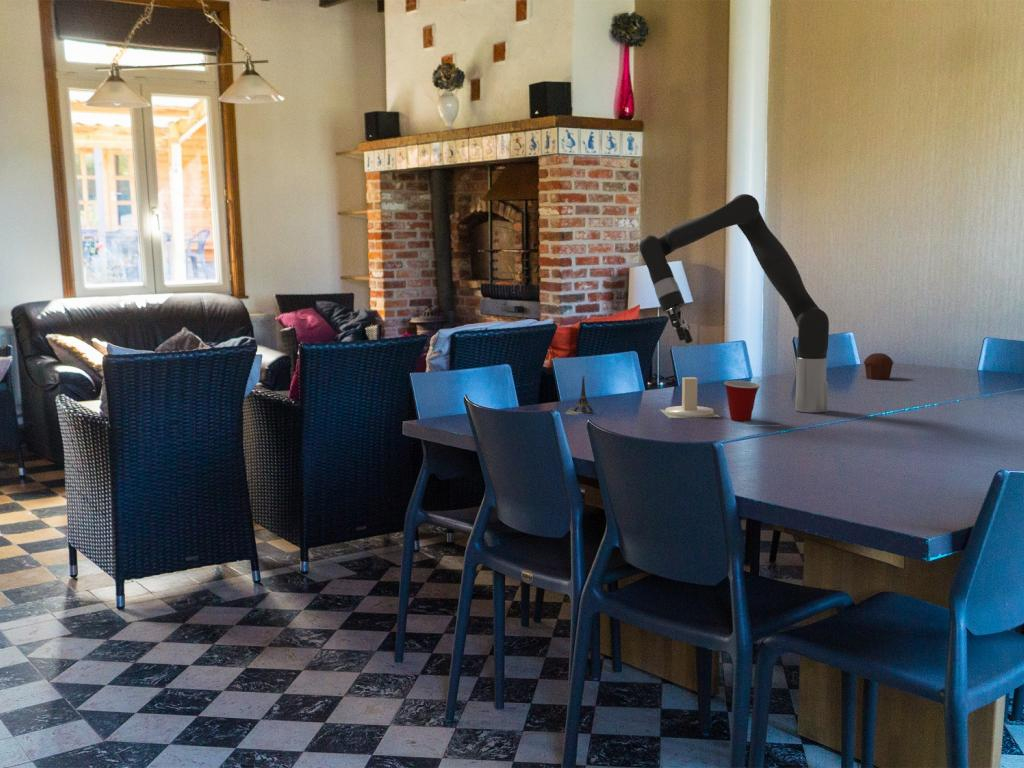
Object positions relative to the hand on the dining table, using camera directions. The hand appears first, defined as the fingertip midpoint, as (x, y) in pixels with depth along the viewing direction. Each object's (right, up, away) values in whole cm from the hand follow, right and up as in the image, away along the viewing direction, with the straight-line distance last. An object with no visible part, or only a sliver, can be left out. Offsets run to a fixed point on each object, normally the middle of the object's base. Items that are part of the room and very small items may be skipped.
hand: (686, 341), depth 326 cm
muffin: (+91, -12, +84) cm, 124 cm away
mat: (+1, -23, 0) cm, 23 cm away
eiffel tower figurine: (-33, -23, +8) cm, 41 cm away
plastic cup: (+14, -25, -14) cm, 32 cm away
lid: (+1, -23, 0) cm, 23 cm away
